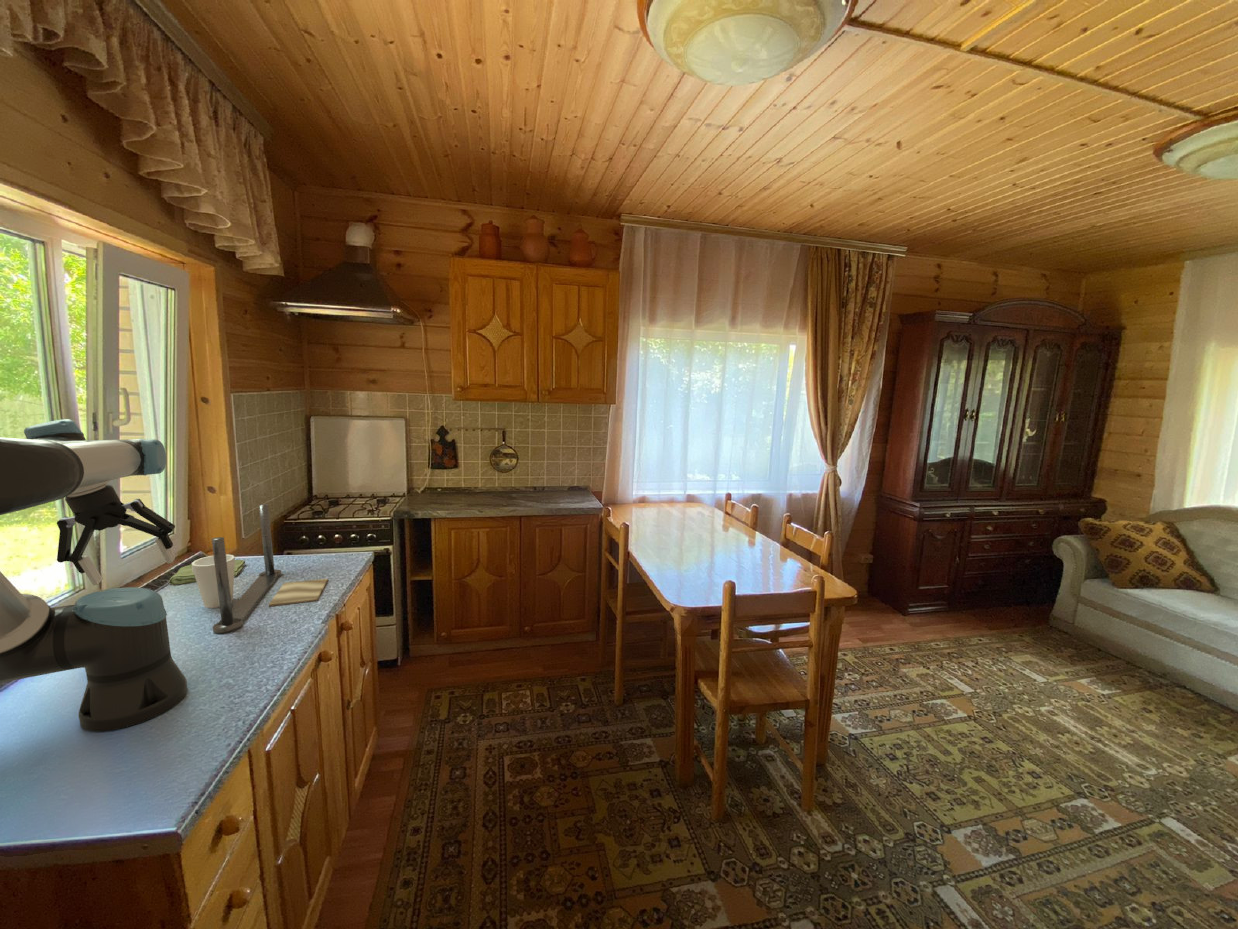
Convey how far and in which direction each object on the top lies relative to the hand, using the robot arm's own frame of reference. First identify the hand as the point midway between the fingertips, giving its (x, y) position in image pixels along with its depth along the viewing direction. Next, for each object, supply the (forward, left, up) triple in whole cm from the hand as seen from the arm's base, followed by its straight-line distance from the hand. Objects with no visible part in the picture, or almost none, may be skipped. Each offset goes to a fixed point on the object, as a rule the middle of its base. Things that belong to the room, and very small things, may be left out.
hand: (136, 571), depth 114 cm
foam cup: (+23, -7, -19) cm, 30 cm away
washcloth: (+49, +4, -20) cm, 53 cm away
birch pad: (+24, -27, -19) cm, 40 cm away
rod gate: (+23, -15, -19) cm, 33 cm away
